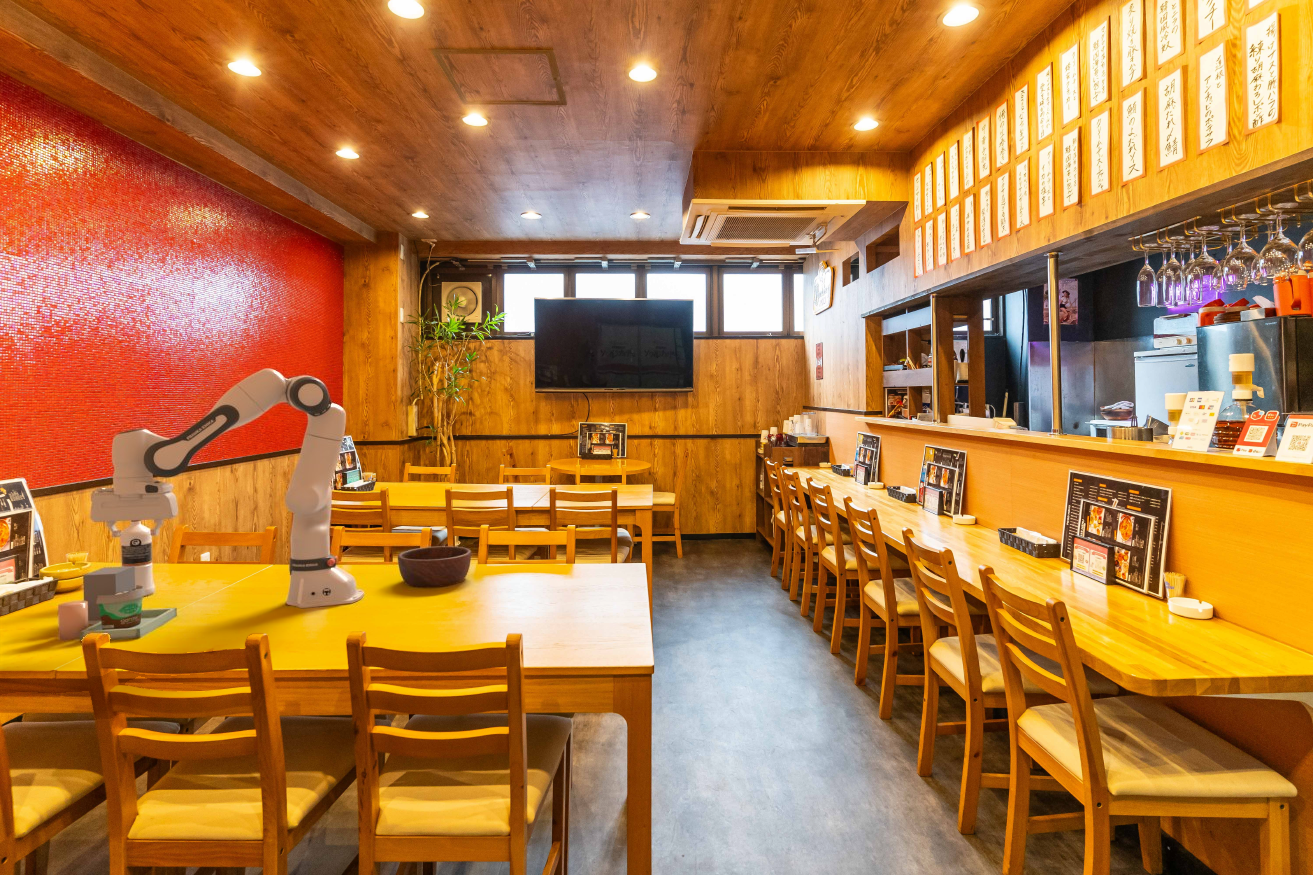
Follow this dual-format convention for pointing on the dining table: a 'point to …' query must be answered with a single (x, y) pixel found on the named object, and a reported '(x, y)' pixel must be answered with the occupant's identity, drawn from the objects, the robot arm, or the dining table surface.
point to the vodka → (138, 554)
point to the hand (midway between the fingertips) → (135, 536)
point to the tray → (148, 623)
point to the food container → (121, 609)
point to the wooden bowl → (434, 566)
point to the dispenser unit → (105, 587)
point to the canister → (72, 619)
